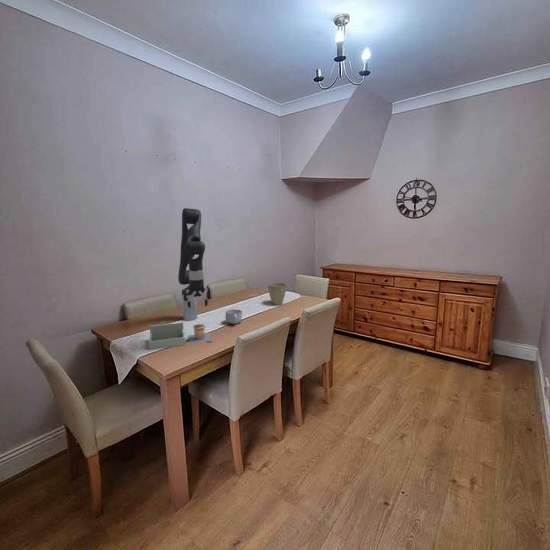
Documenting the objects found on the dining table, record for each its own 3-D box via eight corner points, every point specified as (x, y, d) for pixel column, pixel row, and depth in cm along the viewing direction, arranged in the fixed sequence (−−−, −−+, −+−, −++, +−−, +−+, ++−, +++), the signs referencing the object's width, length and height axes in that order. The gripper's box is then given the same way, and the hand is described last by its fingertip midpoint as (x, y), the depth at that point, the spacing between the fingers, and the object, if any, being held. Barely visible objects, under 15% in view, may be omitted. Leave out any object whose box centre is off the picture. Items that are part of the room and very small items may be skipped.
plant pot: (287, 301, 249) (287, 282, 246) (285, 306, 235) (285, 286, 232) (269, 300, 251) (269, 282, 248) (266, 306, 237) (266, 286, 234)
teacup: (226, 320, 205) (226, 308, 203) (242, 319, 206) (242, 308, 204) (224, 327, 191) (224, 315, 190) (241, 326, 192) (241, 314, 191)
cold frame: (150, 341, 170) (149, 325, 168) (183, 337, 176) (182, 322, 174) (149, 351, 157) (148, 334, 156) (185, 346, 163) (184, 330, 161)
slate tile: (187, 337, 176) (187, 335, 175) (208, 334, 180) (208, 332, 179) (189, 345, 164) (189, 343, 164) (211, 342, 168) (211, 340, 168)
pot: (193, 336, 174) (192, 324, 172) (204, 335, 176) (204, 323, 175) (194, 340, 168) (193, 328, 167) (206, 339, 170) (205, 327, 169)
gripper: (208, 276, 171) (209, 303, 174) (182, 277, 166) (183, 306, 170) (210, 278, 164) (211, 307, 167) (183, 280, 159) (184, 310, 163)
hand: (197, 306), depth 168 cm, fingers open, 8 cm apart
